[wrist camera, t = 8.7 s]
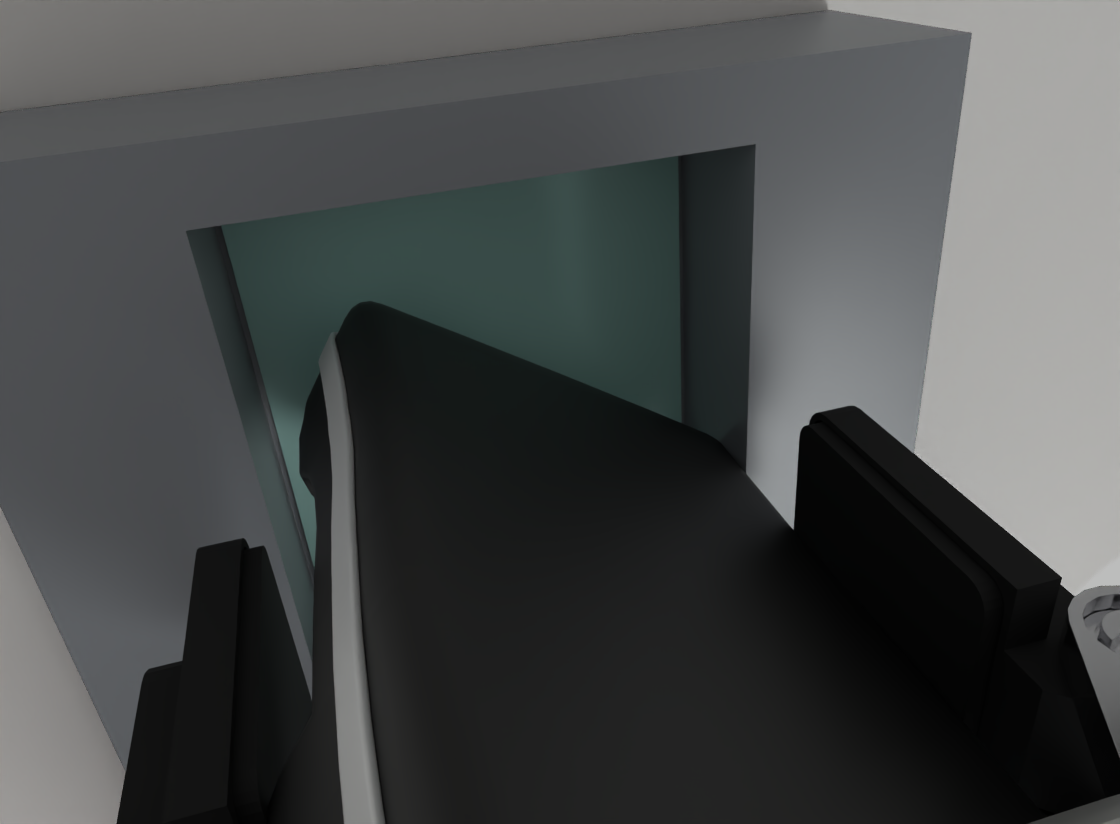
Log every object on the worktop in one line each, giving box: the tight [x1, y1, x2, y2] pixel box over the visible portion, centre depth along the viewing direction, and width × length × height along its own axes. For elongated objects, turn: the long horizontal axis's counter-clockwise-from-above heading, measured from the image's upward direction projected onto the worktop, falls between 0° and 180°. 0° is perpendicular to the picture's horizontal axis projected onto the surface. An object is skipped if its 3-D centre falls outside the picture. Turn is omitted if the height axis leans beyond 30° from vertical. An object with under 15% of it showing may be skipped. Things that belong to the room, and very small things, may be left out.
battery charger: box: [267, 301, 1046, 824], centre depth 10 cm, size 7×4×11 cm, turn 60°
